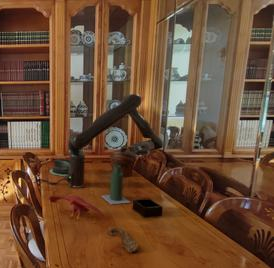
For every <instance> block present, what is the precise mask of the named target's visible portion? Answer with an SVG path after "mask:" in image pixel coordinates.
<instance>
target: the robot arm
mask: <svg viewBox="0 0 274 268" xmlns="http://www.w3.org/2000/svg"><path fill="white" fill-rule="evenodd" d="M142 102H143V100H142V97H141V96H140V95H139V94H138V93H131V94H127V95H125V96H123V97H122V98H121V100H120V103H119V104H118V105H116V106H114V107H112V108H109V109H108V110H106V111H104V112H103V113H101V114H100V115H98V116H97V117H96V118H95V119H94V121H92V123H91V124H90V126H89V127H88V128H86V129H84V131H81V132H77V131H73V132H72V133H70V134H69V136H68V140H67V152H68V156H69V157H68V158H69V159H68V160H69V170H68V175H65V176H64V178H61V179H58V180H57V181H55V182H50V180H47V179H42V178H40V179H39V178H37V179H35V180H36V182H38V181H41V182H47V183H48V184H49V185H58V184H59V183H60V182H61V181H66V183H67V185H68V186H69V187H70V188H74V189H75V188H76V189H81V188H84V187H85V164H86V163H85V160H86V157H85V156H86V155H85V152H84V151H83V148H85V147H87V145H89V143H91V142H92V141H93V140H94V139H95V138H96V137H98V136H99V135H101V134H102V133H104V132H105V131H106V130H108V129H109V128H111V127H112V126H113V125H115V124H116V123H118V121H120V120H121V119H123V117H125V116H126V115H129V117H130V118H131V120H132V121H133V122H134V124H135V125H136V127H137V129H138V130H139V132H140V134H141V136H142V138H143V139H147V140H141V141H138V142H137V141H136V142H135V143H133V145H128V144H126V145H122V146H120V149H119V150H120V151H121V152H126V151H127V152H133V153H135V155H136V156H143V155H144V156H146V155H148V154H149V153H150V152H152V151H156V150H160V149H163V148H164V141H163V139H162V138H161V137H160V136H158V134H157V133H156V132H155V131H154V129H153V128H152V126H151V124H150V122H149V121H148V120H147V119H146V118H145V117H144V116H143V114H141V113H140V111H139V110H138V108H139V107H140V106H141V104H142ZM129 150H130V151H129Z"/></svg>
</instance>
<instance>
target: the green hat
mask: <svg viewBox="0 0 274 268" xmlns="http://www.w3.org/2000/svg"><path fill="white" fill-rule="evenodd" d="M53 162H54V164H53V168H51V169H50V170H49V171H48V172H49V174H52V175H54V176H60V177H65V175H68V170H69V159H67V158H58V159H54V161H53Z"/></svg>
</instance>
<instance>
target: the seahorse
mask: <svg viewBox="0 0 274 268" xmlns="http://www.w3.org/2000/svg"><path fill="white" fill-rule="evenodd" d="M116 231H117V232H119V233H121V235H122V238H123V243H124V244H125V245H124V244H122V245H121V247H123V248H125V250H126V251H127V252H128V253H130V254H131V253H133V252H137V251H138V249H139V245H138V243H137V242H136V241H135V240H133V239H132V238H131V237H130V236H129V234H127V232H126V231H125V229H123V228H121V227H119V226H117V227H111V228H110V229H109V232H108V233H109V235H111V236H115V235H116Z"/></svg>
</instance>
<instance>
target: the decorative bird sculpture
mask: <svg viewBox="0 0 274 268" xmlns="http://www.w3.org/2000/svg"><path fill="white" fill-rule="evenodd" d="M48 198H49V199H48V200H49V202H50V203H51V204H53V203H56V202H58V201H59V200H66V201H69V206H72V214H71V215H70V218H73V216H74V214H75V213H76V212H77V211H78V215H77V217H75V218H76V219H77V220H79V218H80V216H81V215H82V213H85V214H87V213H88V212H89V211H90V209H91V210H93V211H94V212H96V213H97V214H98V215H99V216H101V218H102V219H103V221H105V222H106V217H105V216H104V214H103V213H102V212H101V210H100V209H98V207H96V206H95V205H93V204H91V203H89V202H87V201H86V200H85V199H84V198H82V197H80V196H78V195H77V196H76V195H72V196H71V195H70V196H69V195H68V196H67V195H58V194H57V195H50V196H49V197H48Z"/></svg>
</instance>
